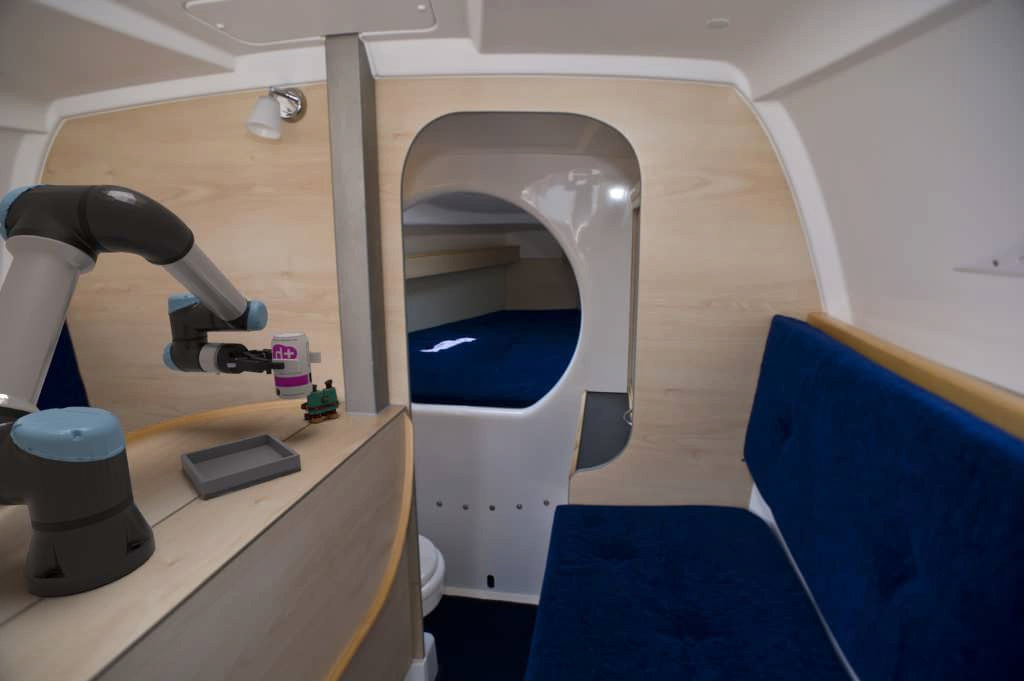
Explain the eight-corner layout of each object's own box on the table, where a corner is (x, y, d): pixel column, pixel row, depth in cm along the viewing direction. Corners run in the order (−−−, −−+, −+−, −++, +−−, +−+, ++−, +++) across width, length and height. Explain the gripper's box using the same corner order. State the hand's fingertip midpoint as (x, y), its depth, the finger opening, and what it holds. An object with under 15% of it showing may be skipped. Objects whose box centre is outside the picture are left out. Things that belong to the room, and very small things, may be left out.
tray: (204, 500, 96) (202, 482, 95) (182, 470, 108) (180, 454, 108) (301, 470, 108) (299, 454, 107) (270, 446, 121) (269, 432, 120)
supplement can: (300, 400, 119) (294, 337, 116) (268, 399, 121) (262, 336, 118) (319, 391, 127) (314, 331, 124) (290, 389, 129) (284, 330, 126)
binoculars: (322, 376, 146) (340, 379, 139) (327, 412, 147) (344, 416, 140) (291, 382, 139) (308, 385, 133) (296, 420, 141) (313, 425, 134)
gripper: (256, 363, 137) (334, 366, 132) (194, 384, 117) (283, 388, 112) (253, 335, 135) (332, 338, 131) (190, 351, 115) (280, 355, 111)
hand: (309, 361), depth 122 cm, fingers closed on supplement can, 8 cm apart
